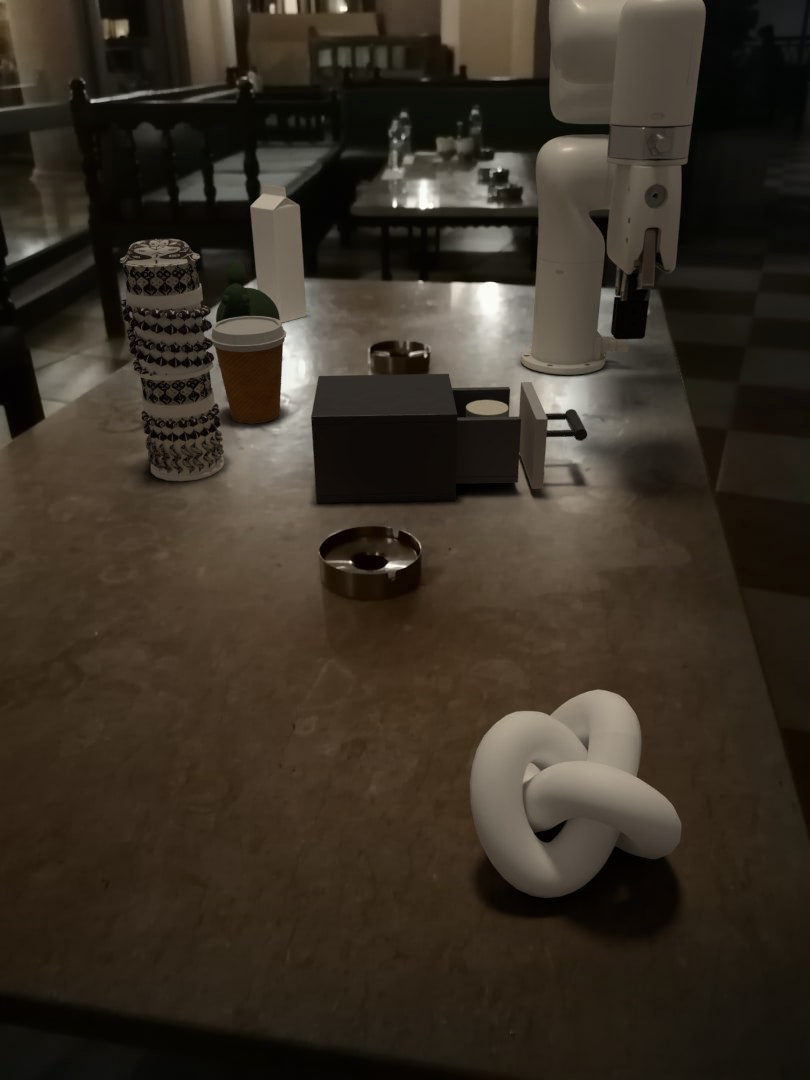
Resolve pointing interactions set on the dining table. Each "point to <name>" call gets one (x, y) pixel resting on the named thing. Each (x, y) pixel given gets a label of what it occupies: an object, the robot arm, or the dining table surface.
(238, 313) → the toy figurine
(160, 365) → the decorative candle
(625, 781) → the white knot sculpture
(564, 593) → the dining table surface
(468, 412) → the cylinder
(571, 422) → the drawer
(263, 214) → the milk
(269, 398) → the disposable coffee cup
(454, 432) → the dark gray cabinet
